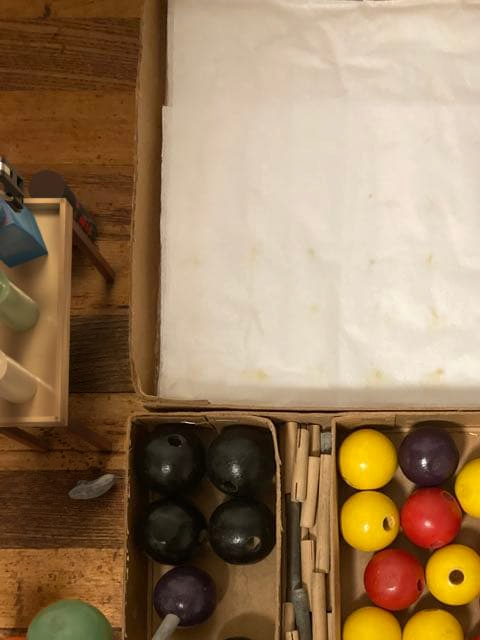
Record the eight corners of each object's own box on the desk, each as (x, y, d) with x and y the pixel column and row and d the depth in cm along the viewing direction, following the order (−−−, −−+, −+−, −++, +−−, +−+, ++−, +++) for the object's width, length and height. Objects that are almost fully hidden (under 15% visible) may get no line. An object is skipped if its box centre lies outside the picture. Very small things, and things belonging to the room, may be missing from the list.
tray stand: (34, 455, 147) (-38, 422, 122) (40, 268, 150) (-30, 198, 125) (115, 455, 147) (59, 421, 122) (118, 267, 150) (65, 197, 125)
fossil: (116, 471, 147) (107, 466, 142) (123, 489, 146) (114, 485, 142) (71, 488, 146) (60, 484, 141) (78, 507, 146) (67, 503, 141)
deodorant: (60, 242, 150) (24, 201, 136) (67, 211, 151) (32, 167, 136) (93, 249, 150) (60, 208, 136) (100, 217, 151) (68, 173, 136)
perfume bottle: (34, 216, 127) (-3, 174, 115) (48, 253, 127) (13, 215, 115) (-5, 231, 127) (-46, 190, 115) (9, 268, 126) (-30, 231, 114)
